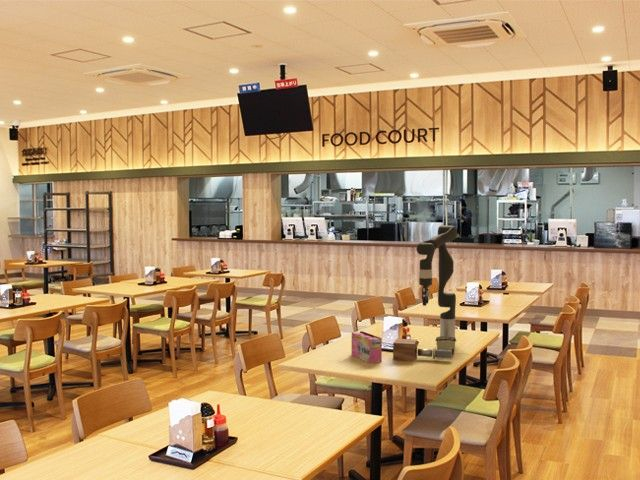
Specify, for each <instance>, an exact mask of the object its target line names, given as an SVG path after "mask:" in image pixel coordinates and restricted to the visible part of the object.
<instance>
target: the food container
mask: <svg viewBox="0 0 640 480" xmlns="http://www.w3.org/2000/svg"><path fill="white" fill-rule="evenodd" d="M434 342H436V349H438V350H452V356H454V355H455V348H456V342H457V338H456V337H455V338H454V337H449V336H440V335H439V336H437V337H436V338H435V341H434Z"/></svg>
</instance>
